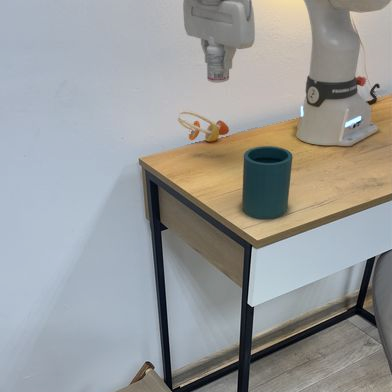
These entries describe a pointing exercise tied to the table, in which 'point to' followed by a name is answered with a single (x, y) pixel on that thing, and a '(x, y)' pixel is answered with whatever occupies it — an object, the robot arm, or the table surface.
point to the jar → (266, 182)
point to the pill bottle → (216, 62)
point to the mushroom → (211, 131)
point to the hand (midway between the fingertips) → (218, 65)
